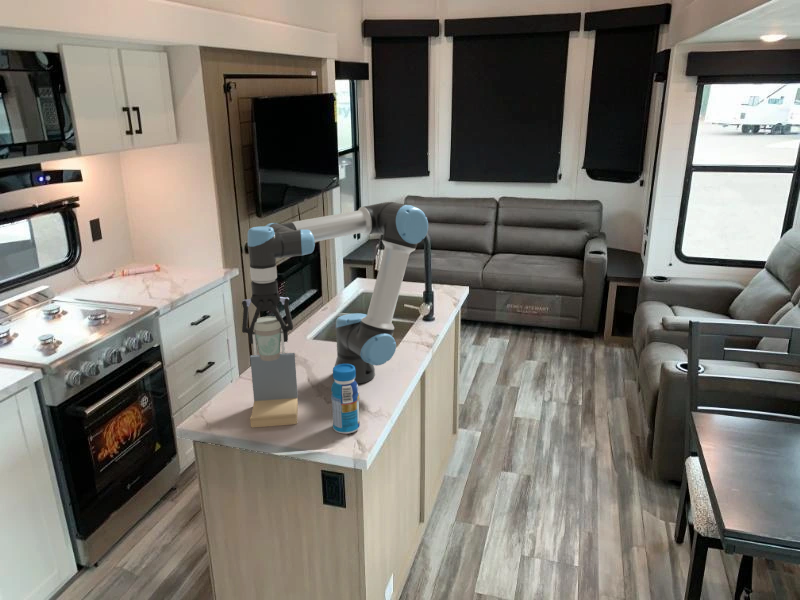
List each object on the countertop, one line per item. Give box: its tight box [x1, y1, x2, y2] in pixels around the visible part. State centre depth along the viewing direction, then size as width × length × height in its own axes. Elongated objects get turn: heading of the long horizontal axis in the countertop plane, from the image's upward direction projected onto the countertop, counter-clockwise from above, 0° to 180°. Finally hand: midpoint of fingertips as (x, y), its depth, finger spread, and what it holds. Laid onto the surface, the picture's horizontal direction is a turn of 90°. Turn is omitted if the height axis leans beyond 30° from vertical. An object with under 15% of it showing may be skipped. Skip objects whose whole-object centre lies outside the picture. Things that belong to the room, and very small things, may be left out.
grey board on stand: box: [249, 352, 299, 429], centre depth 186 cm, size 14×15×18 cm
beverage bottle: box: [330, 364, 361, 435], centre depth 178 cm, size 8×8×20 cm
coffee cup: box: [253, 316, 282, 361], centre depth 178 cm, size 9×8×12 cm
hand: (269, 352), depth 179 cm, fingers closed on coffee cup, 7 cm apart
